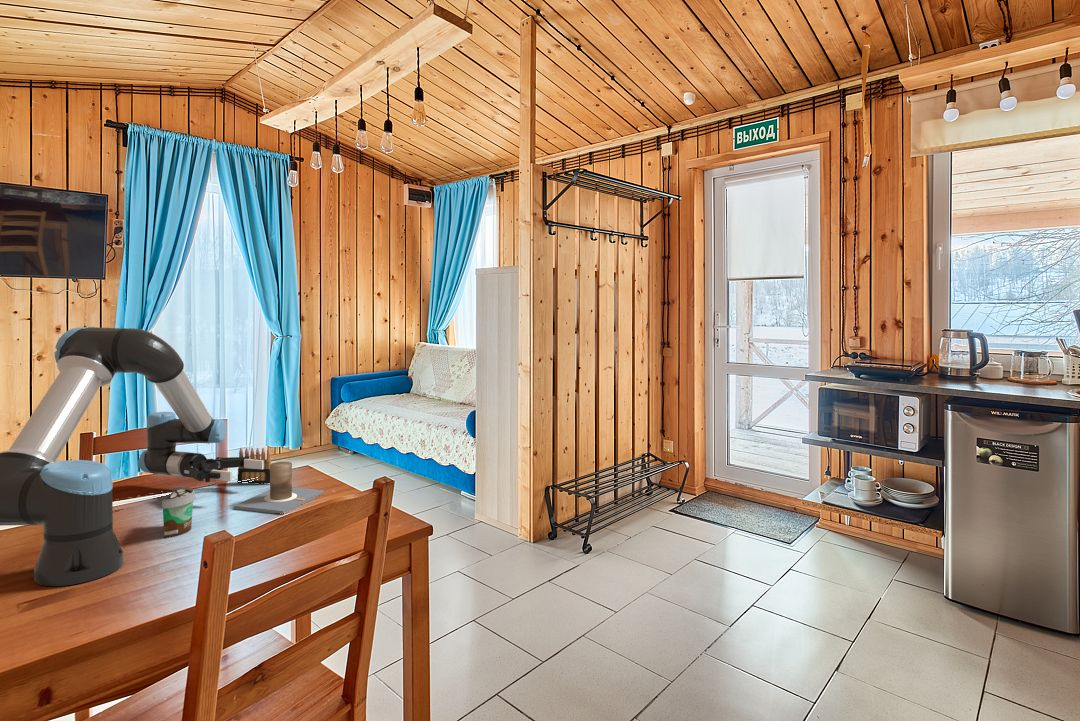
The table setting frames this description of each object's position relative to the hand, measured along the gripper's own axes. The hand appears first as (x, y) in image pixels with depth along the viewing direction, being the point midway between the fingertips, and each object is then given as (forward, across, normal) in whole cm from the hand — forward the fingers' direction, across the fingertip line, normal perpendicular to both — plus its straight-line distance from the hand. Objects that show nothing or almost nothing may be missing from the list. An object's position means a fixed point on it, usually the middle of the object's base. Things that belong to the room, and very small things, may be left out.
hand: (247, 470), depth 174 cm
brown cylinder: (+11, 0, -7) cm, 13 cm away
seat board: (+11, 0, -8) cm, 14 cm away
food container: (+2, +27, -9) cm, 28 cm away
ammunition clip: (-8, -13, -9) cm, 18 cm away
